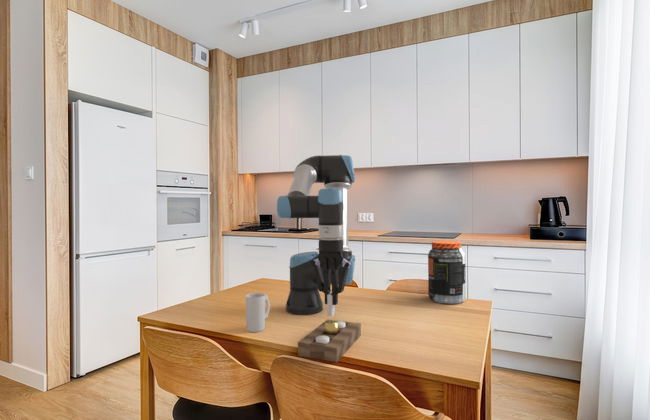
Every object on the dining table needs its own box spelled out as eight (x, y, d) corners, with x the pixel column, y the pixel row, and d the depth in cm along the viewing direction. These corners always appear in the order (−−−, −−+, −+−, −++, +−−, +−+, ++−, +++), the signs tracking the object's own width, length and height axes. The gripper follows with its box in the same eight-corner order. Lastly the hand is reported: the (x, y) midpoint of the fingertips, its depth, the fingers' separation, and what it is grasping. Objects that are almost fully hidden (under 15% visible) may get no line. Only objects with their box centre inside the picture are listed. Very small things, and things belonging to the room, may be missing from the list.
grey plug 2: (331, 336, 123) (331, 324, 123) (336, 332, 127) (336, 320, 127) (343, 338, 122) (343, 325, 122) (347, 334, 125) (347, 322, 125)
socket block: (336, 362, 105) (336, 347, 105) (298, 355, 110) (298, 341, 110) (360, 335, 126) (360, 323, 126) (327, 330, 130) (327, 319, 130)
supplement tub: (473, 301, 166) (473, 242, 166) (450, 307, 158) (450, 244, 157) (443, 293, 180) (443, 239, 179) (420, 299, 171) (420, 241, 170)
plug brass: (323, 336, 117) (322, 323, 117) (328, 332, 120) (327, 319, 120) (335, 338, 115) (335, 325, 115) (339, 334, 119) (339, 321, 119)
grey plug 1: (313, 352, 110) (313, 339, 110) (319, 347, 114) (319, 334, 114) (326, 355, 109) (326, 341, 109) (331, 349, 113) (331, 336, 112)
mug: (254, 334, 128) (254, 298, 128) (241, 330, 132) (241, 295, 132) (276, 326, 136) (275, 292, 136) (263, 322, 140) (262, 290, 140)
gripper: (306, 239, 116) (307, 315, 117) (346, 240, 111) (347, 320, 111) (316, 236, 123) (317, 309, 123) (354, 238, 118) (355, 313, 118)
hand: (331, 314), depth 117 cm, fingers closed
